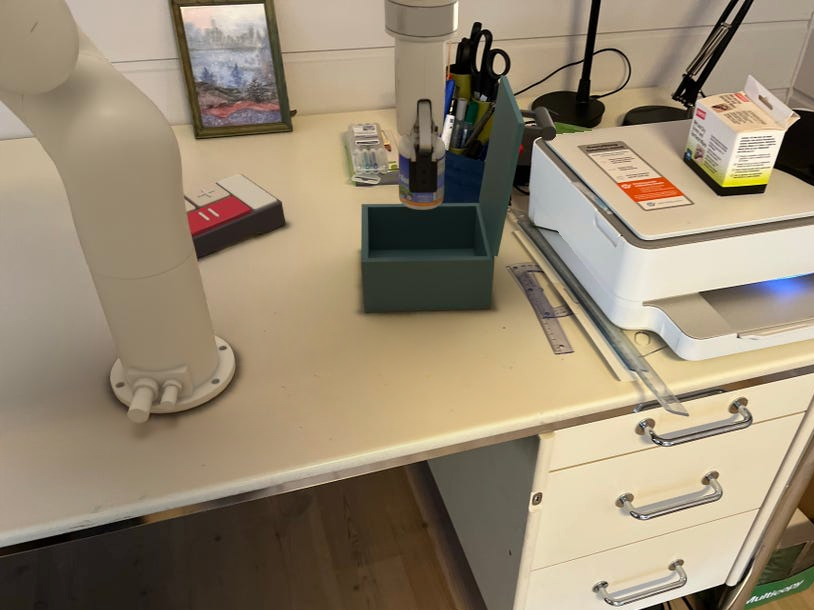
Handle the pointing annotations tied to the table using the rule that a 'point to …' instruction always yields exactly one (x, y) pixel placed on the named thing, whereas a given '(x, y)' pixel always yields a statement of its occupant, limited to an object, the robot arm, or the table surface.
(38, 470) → the table surface
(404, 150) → the pill bottle
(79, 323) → the table surface
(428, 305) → the case
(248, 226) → the calculator
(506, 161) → the lid
